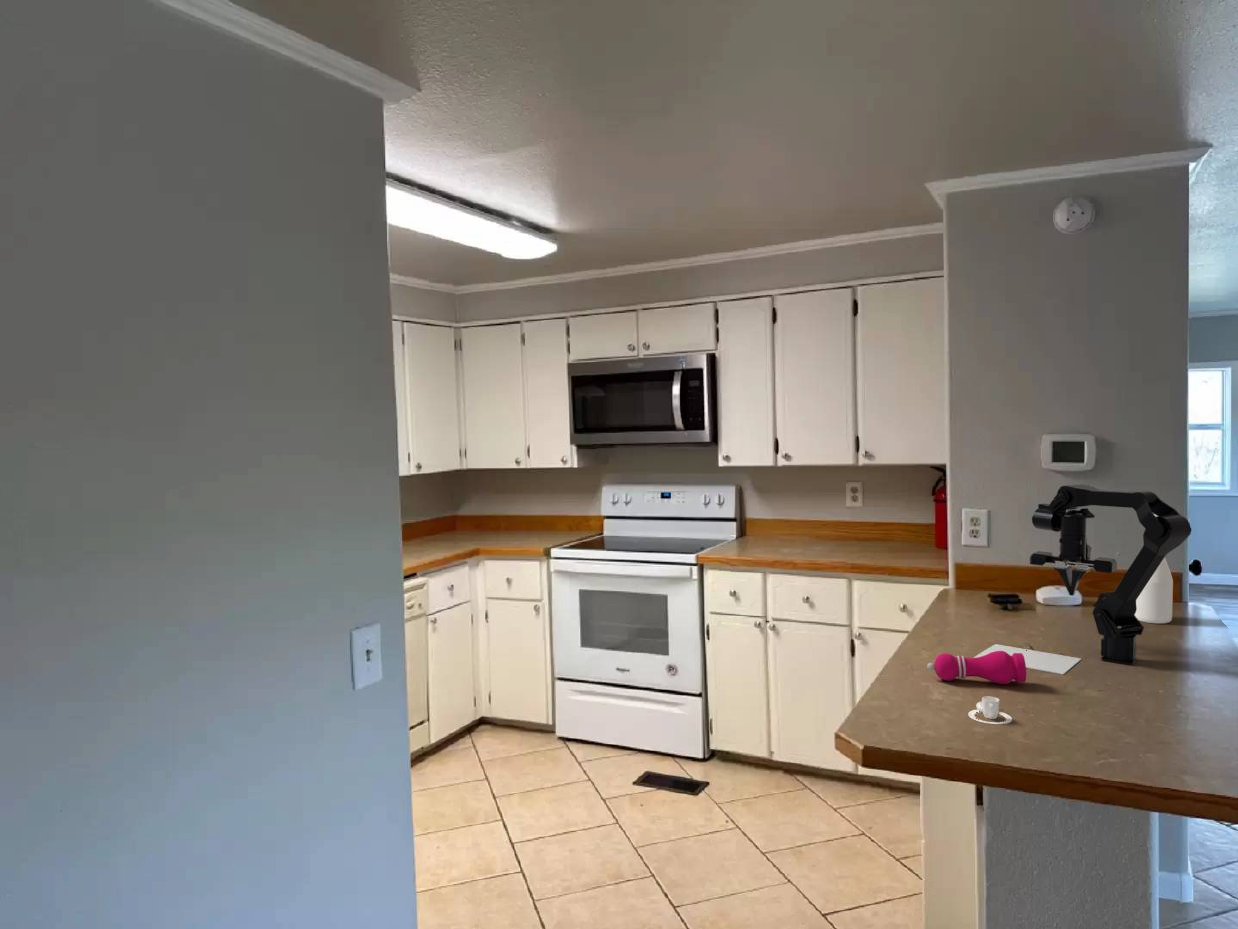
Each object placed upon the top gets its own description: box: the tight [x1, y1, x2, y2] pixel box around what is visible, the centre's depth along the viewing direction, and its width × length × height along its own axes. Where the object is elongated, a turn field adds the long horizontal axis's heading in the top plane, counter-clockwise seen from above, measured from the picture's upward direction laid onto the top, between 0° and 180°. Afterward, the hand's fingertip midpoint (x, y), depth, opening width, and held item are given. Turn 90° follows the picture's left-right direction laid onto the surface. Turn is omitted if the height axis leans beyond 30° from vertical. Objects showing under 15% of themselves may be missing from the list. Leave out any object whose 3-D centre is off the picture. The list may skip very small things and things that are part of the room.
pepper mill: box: [926, 651, 1027, 685], centre depth 186 cm, size 7×7×20 cm
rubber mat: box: [973, 643, 1082, 675], centre depth 202 cm, size 20×15×1 cm
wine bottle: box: [1135, 513, 1174, 624], centre depth 234 cm, size 10×10×30 cm
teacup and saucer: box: [967, 695, 1013, 725], centre depth 166 cm, size 9×8×4 cm
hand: (1071, 595), depth 211 cm, fingers closed
